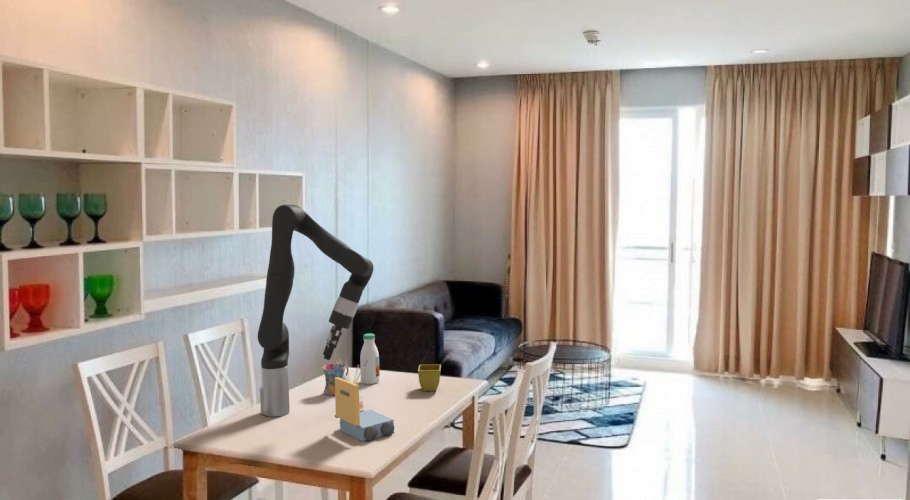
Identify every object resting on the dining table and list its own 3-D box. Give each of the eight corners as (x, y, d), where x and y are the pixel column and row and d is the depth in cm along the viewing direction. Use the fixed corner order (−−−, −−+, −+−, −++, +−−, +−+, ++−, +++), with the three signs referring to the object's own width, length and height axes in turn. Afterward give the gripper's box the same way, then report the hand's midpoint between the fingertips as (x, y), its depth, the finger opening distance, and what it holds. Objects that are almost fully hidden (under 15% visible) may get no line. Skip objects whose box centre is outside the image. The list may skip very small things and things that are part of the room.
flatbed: (368, 421, 250) (368, 408, 249) (396, 433, 237) (395, 420, 237) (338, 429, 242) (338, 416, 242) (364, 442, 230) (364, 428, 229)
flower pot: (440, 392, 282) (440, 370, 281) (418, 392, 282) (417, 370, 281) (441, 386, 291) (440, 364, 290) (419, 386, 291) (419, 364, 290)
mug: (334, 398, 277) (333, 371, 276) (317, 394, 283) (316, 367, 282) (356, 390, 286) (355, 364, 285) (340, 386, 292) (339, 361, 291)
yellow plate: (337, 416, 241) (336, 376, 240) (361, 428, 229) (360, 385, 228) (333, 418, 240) (332, 377, 239) (357, 429, 228) (356, 386, 227)
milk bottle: (371, 385, 293) (370, 337, 291) (357, 383, 297) (355, 335, 295) (383, 381, 300) (382, 333, 298) (368, 378, 304) (367, 331, 302)
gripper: (332, 307, 252) (315, 351, 250) (334, 310, 238) (316, 356, 237) (352, 314, 253) (335, 358, 252) (355, 318, 239) (337, 364, 238)
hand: (326, 357), depth 244 cm, fingers open, 8 cm apart
